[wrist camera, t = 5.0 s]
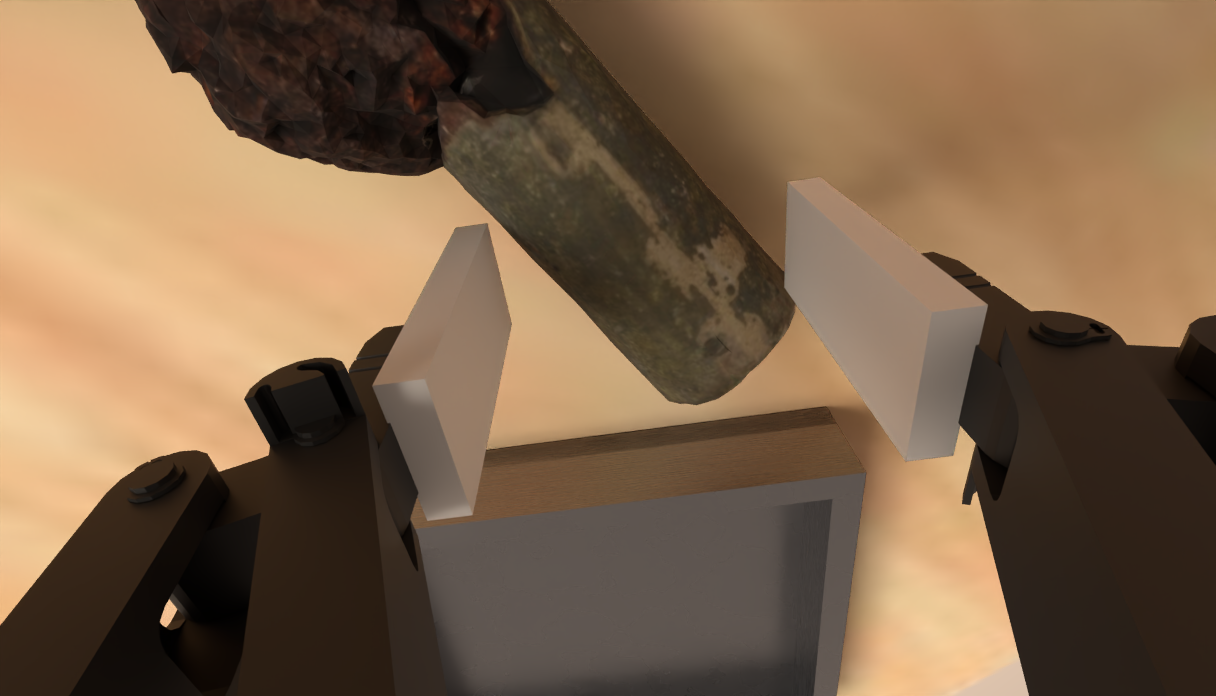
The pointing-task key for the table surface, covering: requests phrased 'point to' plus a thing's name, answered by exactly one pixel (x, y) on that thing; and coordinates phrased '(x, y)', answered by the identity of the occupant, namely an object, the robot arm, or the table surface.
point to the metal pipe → (503, 156)
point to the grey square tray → (652, 563)
